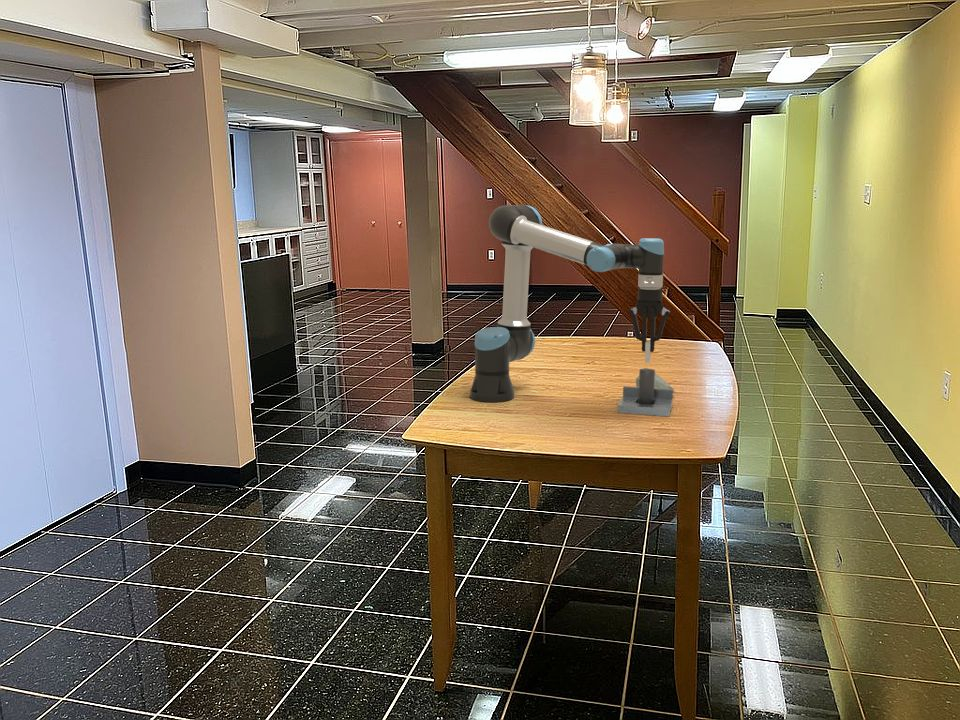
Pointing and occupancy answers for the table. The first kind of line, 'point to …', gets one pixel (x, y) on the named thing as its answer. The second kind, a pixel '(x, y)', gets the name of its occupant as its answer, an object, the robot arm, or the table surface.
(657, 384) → the decorative stone
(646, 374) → the dark grey round peg
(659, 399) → the plate
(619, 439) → the table surface
